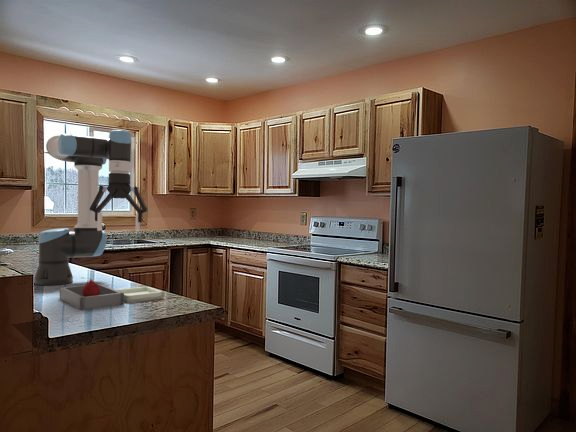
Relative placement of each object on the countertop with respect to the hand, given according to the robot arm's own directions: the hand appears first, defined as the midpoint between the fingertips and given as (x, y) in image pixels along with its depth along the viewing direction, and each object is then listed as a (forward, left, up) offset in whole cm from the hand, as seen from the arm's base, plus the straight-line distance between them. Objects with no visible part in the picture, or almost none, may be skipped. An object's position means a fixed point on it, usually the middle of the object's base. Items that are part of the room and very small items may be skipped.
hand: (118, 231), depth 164 cm
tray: (+2, +7, -25) cm, 26 cm away
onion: (-1, -9, -25) cm, 27 cm away
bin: (-1, -9, -25) cm, 27 cm away
